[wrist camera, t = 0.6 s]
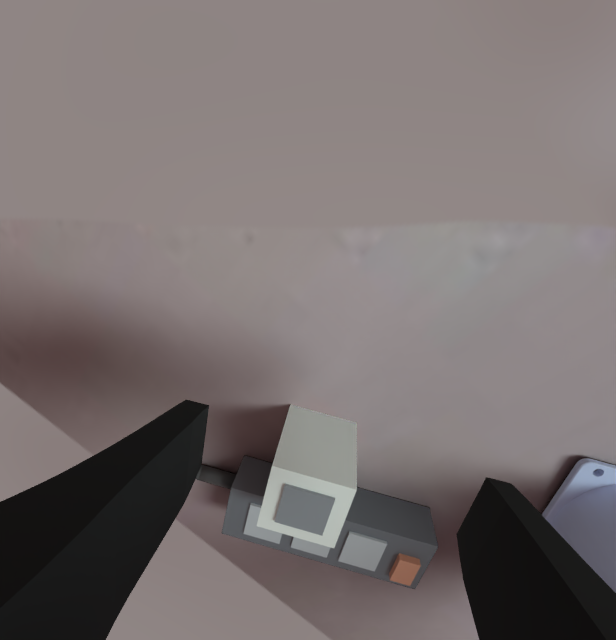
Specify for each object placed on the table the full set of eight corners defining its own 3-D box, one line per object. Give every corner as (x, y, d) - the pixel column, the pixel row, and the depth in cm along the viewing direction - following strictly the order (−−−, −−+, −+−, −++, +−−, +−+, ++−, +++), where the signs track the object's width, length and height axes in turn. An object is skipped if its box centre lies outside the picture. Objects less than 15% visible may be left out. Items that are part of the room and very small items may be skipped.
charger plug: (356, 422, 21) (356, 492, 16) (338, 475, 23) (332, 553, 18) (290, 403, 21) (271, 468, 16) (276, 457, 23) (255, 530, 18)
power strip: (430, 505, 22) (440, 551, 20) (408, 548, 24) (415, 596, 21) (201, 441, 23) (180, 476, 20) (194, 486, 24) (173, 526, 22)
